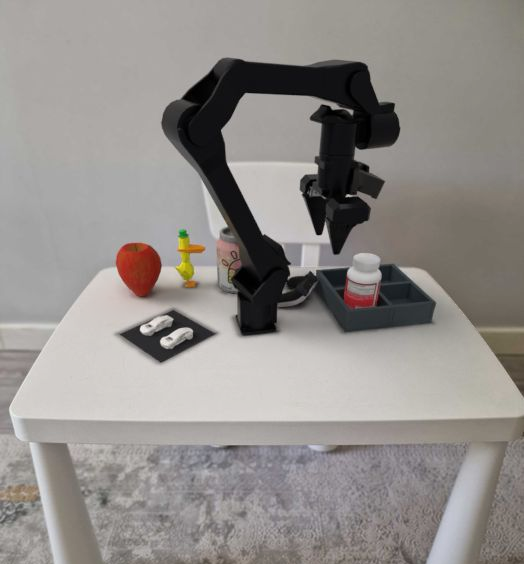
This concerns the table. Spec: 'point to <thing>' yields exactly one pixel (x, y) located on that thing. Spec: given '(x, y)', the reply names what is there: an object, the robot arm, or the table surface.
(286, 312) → the table surface
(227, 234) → the beverage can
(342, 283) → the tray
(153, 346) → the black mat with cars
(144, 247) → the apple
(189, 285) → the toy figure
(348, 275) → the pill bottle
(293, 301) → the gaming controller
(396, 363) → the table surface
